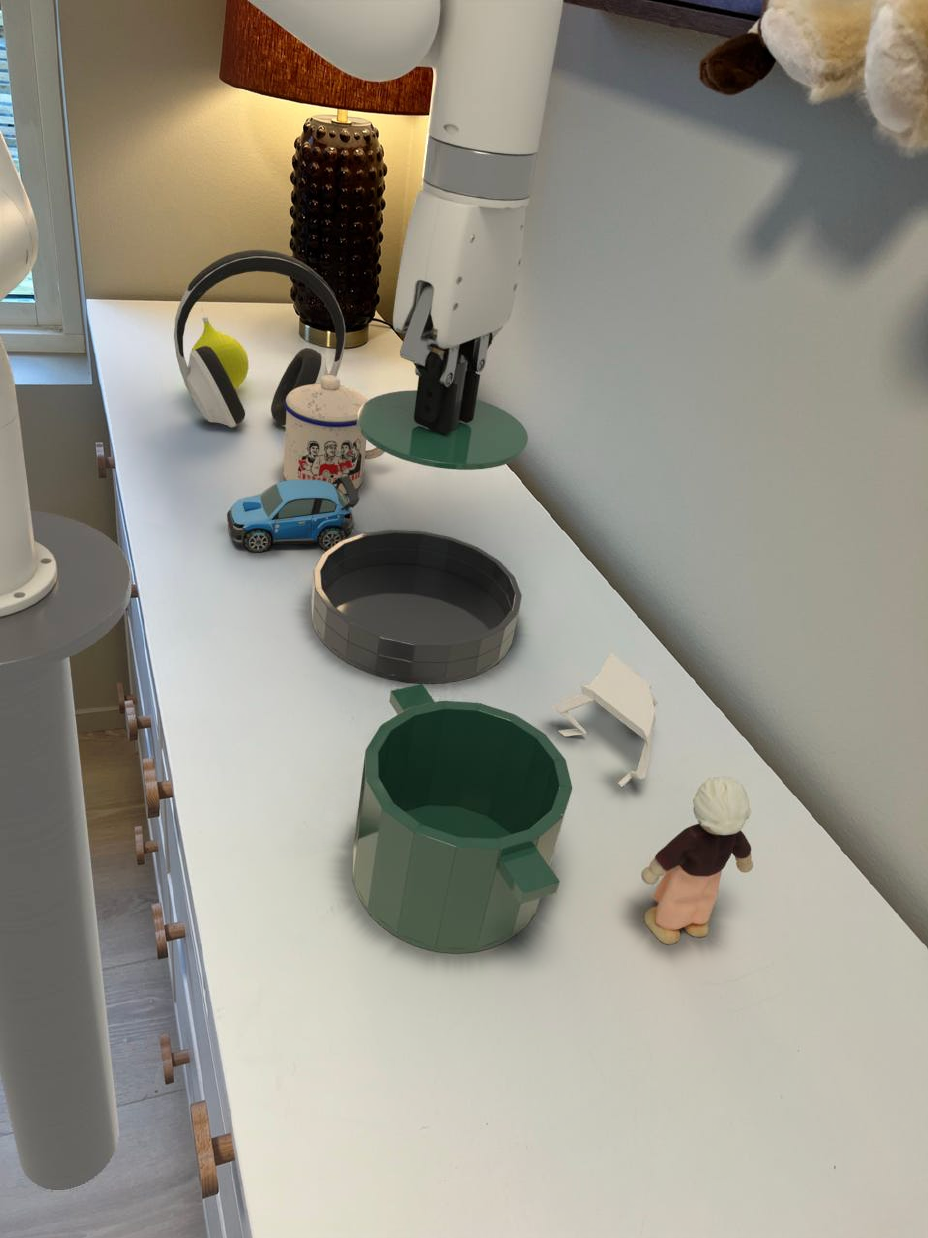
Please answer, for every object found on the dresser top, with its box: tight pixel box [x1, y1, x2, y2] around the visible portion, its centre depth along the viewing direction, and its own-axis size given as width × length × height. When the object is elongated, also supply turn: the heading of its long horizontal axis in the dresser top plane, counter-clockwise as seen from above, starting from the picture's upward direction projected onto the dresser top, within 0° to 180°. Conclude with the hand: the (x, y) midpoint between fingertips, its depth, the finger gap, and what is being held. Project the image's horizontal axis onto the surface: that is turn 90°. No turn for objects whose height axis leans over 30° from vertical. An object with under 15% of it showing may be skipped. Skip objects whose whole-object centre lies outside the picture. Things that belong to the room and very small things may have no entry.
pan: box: [310, 529, 523, 684], centre depth 87 cm, size 18×18×4 cm
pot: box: [352, 683, 573, 954], centre depth 62 cm, size 13×18×10 cm
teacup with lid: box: [283, 375, 385, 495], centre depth 104 cm, size 12×9×12 cm
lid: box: [357, 351, 529, 471], centre depth 76 cm, size 14×14×7 cm
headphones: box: [173, 249, 346, 428], centre depth 111 cm, size 19×8×20 cm, turn 110°
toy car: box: [226, 475, 360, 553], centre depth 95 cm, size 6×12×6 cm, turn 108°
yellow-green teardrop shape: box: [190, 306, 249, 390], centre depth 119 cm, size 7×7×10 cm
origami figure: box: [551, 651, 659, 788], centre depth 76 cm, size 12×8×5 cm
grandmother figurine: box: [640, 776, 754, 945], centre depth 60 cm, size 8×4×13 cm, turn 118°
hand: (443, 420), depth 77 cm, fingers closed on lid, 2 cm apart
